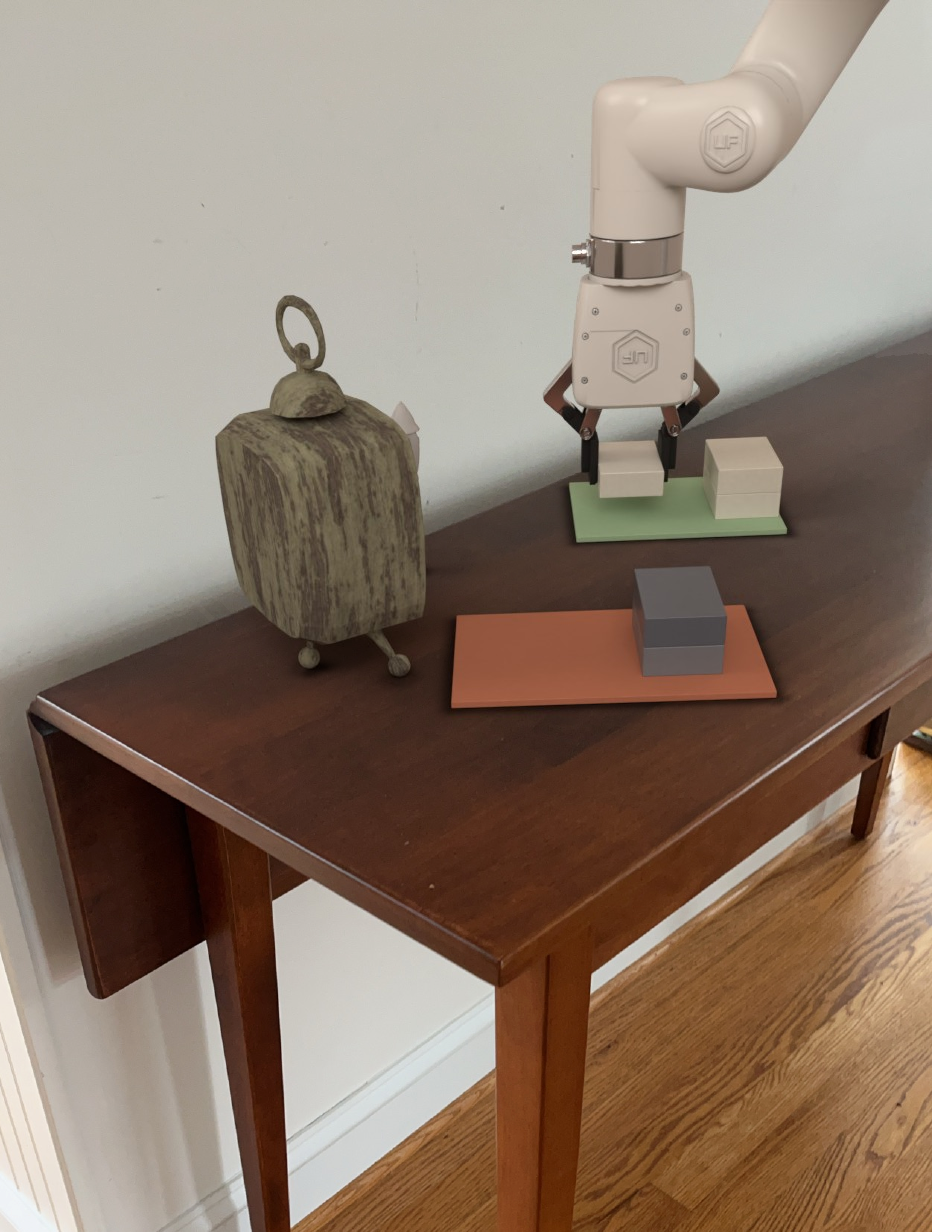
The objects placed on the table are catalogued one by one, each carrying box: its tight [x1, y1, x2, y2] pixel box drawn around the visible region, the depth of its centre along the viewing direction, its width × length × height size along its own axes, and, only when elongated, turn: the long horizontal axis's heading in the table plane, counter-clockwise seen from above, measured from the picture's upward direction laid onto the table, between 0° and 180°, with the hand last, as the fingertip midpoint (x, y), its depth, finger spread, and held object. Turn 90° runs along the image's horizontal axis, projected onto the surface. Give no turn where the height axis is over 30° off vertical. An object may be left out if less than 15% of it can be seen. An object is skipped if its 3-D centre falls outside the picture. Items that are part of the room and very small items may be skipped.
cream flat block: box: [597, 440, 664, 498], centre depth 111 cm, size 6×8×2 cm, turn 178°
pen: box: [390, 400, 421, 482], centre depth 101 cm, size 2×3×14 cm
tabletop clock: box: [214, 294, 427, 678], centre depth 85 cm, size 14×9×25 cm, turn 30°
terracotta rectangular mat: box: [450, 604, 778, 709], centre depth 90 cm, size 22×14×1 cm, turn 88°
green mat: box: [568, 476, 788, 543], centre depth 113 cm, size 18×14×1 cm
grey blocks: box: [632, 565, 727, 677], centre depth 89 cm, size 6×8×4 cm, turn 178°
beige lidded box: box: [702, 436, 784, 520], centre depth 111 cm, size 6×8×4 cm, turn 178°
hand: (627, 476), depth 112 cm, fingers closed on cream flat block, 5 cm apart
